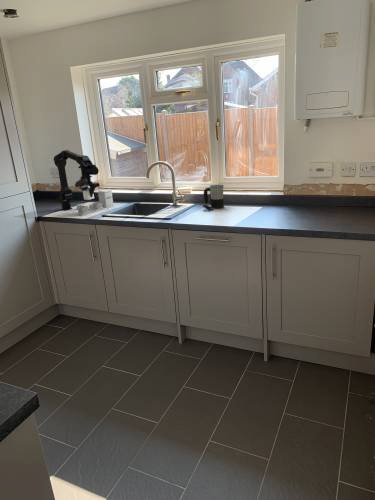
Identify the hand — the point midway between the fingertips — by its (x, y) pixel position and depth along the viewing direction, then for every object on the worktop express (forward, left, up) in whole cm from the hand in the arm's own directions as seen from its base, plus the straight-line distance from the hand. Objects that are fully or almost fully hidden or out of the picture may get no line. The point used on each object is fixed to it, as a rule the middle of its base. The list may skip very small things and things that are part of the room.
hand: (88, 197), depth 281 cm
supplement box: (0, +16, -11) cm, 19 cm away
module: (0, 0, -1) cm, 1 cm away
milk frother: (+81, +33, -11) cm, 89 cm away
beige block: (-6, +8, -11) cm, 15 cm away
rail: (0, 0, -11) cm, 11 cm away
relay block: (-17, +6, -11) cm, 21 cm away
